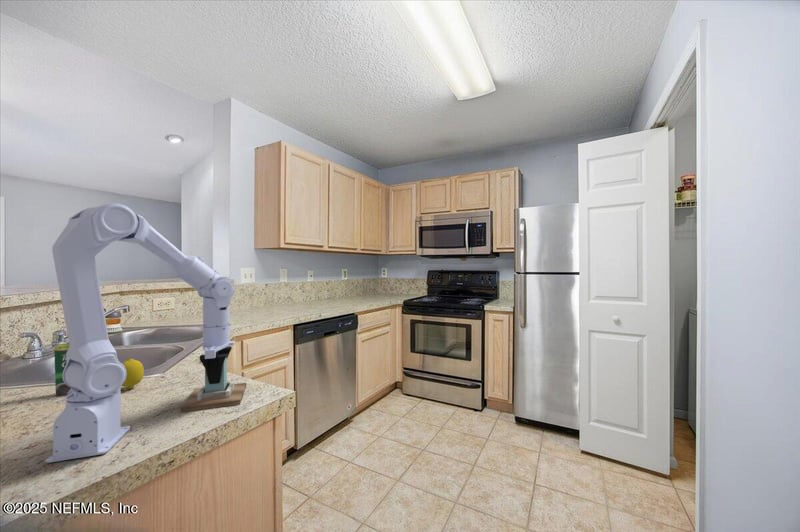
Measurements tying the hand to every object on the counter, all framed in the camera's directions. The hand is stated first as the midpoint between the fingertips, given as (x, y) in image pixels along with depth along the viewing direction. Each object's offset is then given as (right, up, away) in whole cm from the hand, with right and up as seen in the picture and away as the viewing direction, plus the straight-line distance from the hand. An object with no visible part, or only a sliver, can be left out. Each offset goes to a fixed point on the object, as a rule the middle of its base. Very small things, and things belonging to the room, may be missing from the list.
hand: (216, 380), depth 78 cm
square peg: (0, -2, 0) cm, 2 cm away
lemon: (-27, -5, +6) cm, 28 cm away
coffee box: (-39, -5, +4) cm, 39 cm away
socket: (0, -4, 0) cm, 4 cm away
